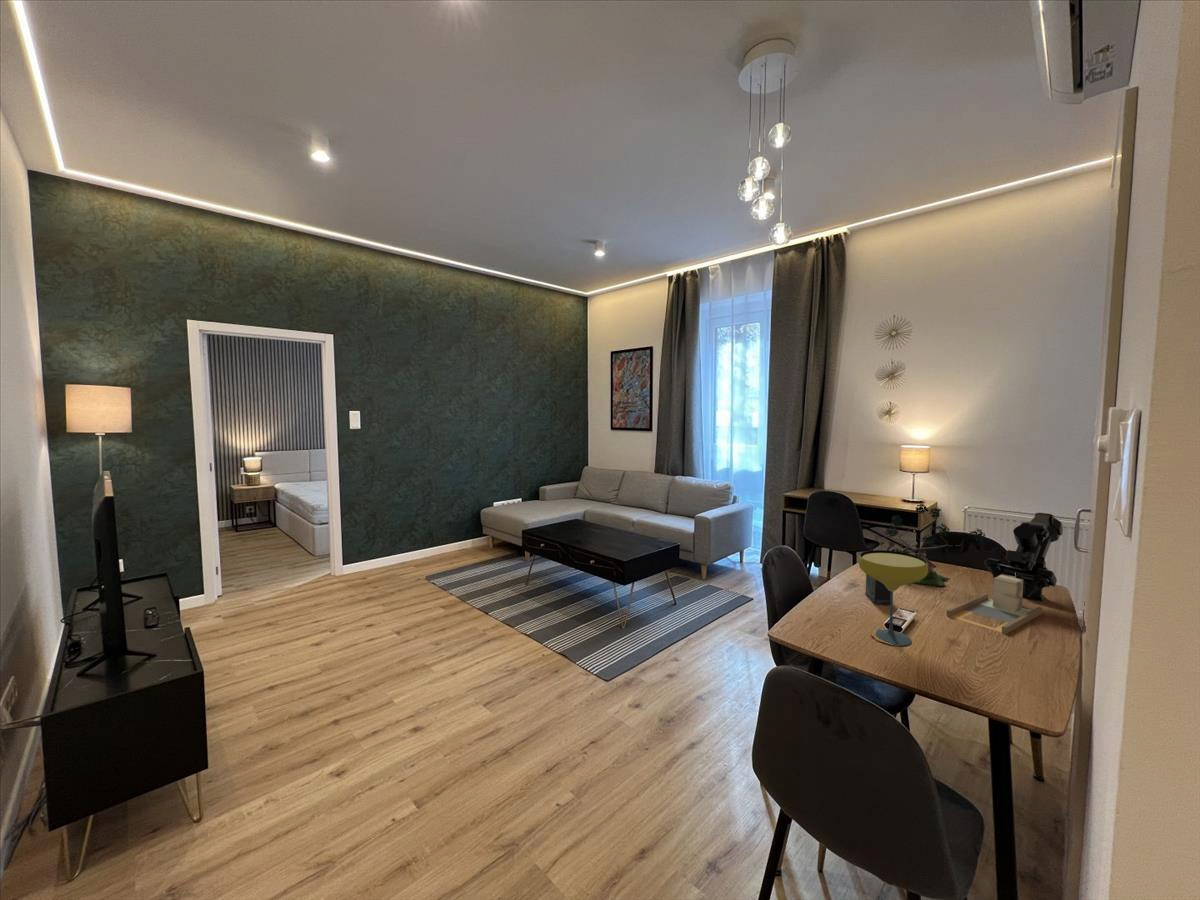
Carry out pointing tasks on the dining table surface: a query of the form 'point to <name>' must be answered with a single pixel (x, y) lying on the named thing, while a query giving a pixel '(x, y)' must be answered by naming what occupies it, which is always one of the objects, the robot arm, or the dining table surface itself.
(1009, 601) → the maple block
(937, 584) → the bonsai tree
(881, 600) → the small box
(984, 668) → the dining table surface
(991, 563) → the robot arm
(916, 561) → the cocktail glass
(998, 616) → the trough deck
